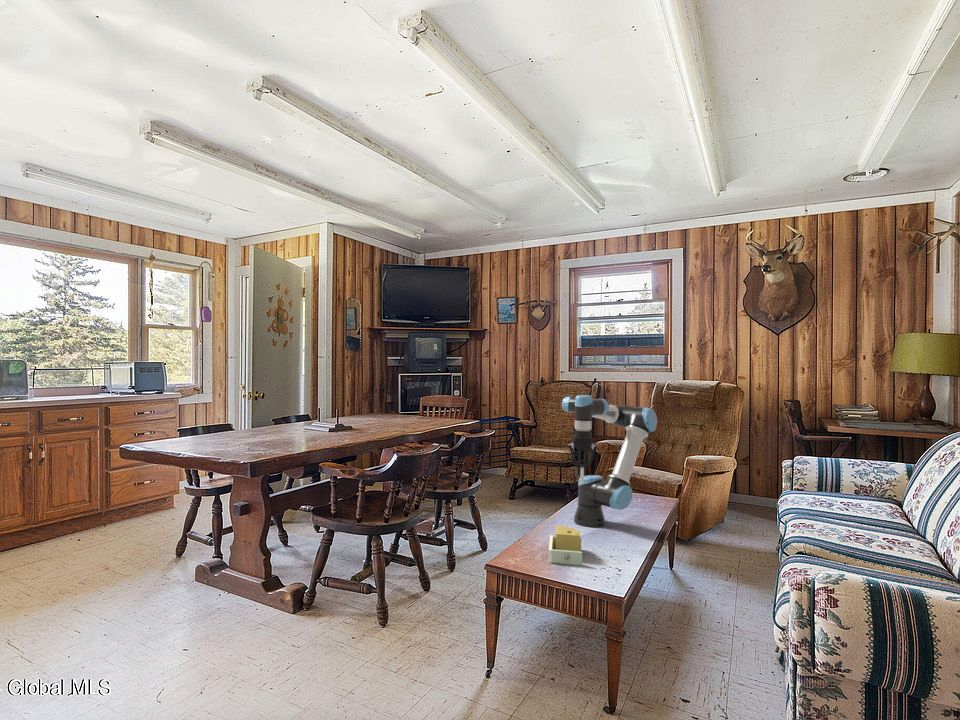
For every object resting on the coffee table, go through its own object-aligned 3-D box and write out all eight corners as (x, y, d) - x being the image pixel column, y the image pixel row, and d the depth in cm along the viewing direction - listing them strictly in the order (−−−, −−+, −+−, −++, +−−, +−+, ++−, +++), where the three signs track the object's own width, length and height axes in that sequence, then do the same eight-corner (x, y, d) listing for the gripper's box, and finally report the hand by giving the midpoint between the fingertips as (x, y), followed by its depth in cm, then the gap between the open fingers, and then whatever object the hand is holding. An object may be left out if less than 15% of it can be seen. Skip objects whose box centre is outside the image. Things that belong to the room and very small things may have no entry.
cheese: (580, 550, 218) (580, 527, 218) (580, 560, 207) (580, 535, 207) (555, 548, 220) (556, 525, 220) (554, 558, 209) (555, 533, 209)
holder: (550, 546, 222) (550, 534, 222) (580, 548, 220) (581, 537, 220) (548, 563, 203) (548, 550, 203) (582, 566, 201) (582, 553, 201)
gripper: (568, 430, 226) (567, 483, 227) (598, 431, 224) (597, 485, 224) (568, 428, 234) (567, 479, 234) (597, 429, 232) (596, 481, 232)
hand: (581, 482), depth 229 cm, fingers closed
